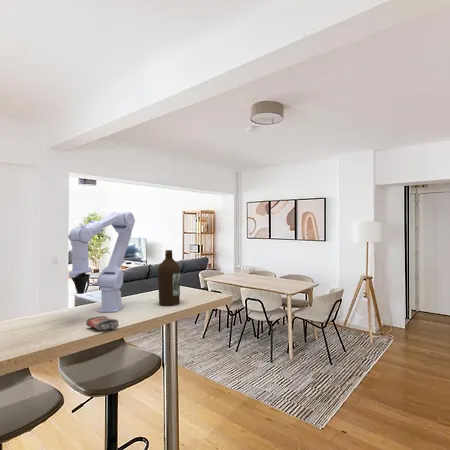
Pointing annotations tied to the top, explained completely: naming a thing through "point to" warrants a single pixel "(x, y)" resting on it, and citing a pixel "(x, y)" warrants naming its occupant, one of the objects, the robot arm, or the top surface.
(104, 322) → the lighter
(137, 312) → the top surface
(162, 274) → the olive oil
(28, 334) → the top surface
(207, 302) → the top surface
